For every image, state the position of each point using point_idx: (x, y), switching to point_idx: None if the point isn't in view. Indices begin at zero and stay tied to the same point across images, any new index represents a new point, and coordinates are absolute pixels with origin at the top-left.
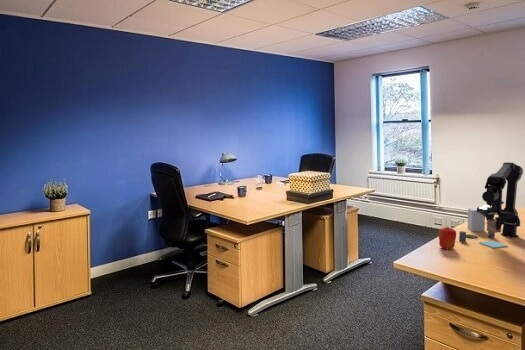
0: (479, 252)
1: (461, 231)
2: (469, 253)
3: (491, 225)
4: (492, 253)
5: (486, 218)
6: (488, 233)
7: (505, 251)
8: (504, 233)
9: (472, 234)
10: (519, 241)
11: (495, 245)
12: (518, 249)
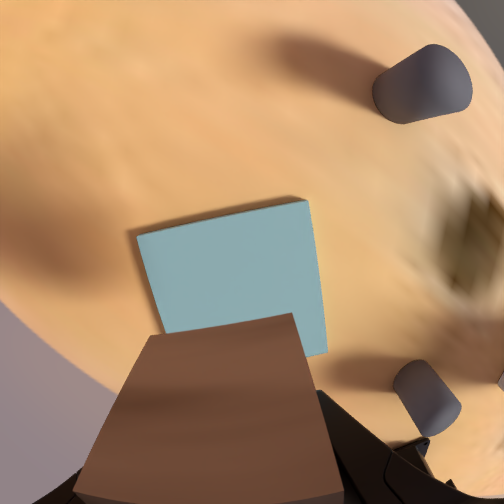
0: (68, 71)
1: (465, 82)
2: (72, 4)
3: (179, 409)
4: (37, 158)
5: (430, 491)
6: (433, 378)
7: (74, 284)
8: (403, 456)
9: (498, 291)
10: None
11: (189, 291)
12: None
